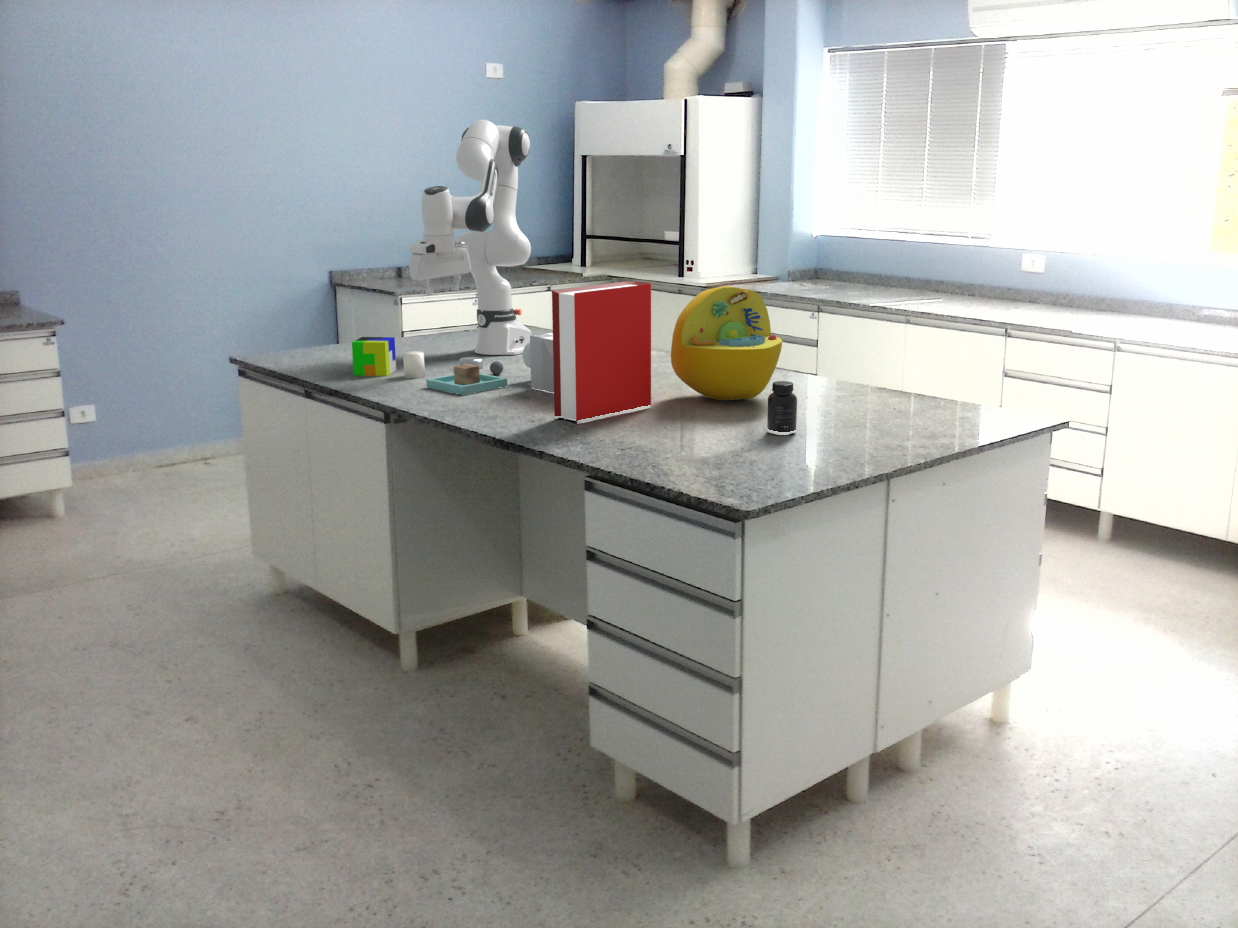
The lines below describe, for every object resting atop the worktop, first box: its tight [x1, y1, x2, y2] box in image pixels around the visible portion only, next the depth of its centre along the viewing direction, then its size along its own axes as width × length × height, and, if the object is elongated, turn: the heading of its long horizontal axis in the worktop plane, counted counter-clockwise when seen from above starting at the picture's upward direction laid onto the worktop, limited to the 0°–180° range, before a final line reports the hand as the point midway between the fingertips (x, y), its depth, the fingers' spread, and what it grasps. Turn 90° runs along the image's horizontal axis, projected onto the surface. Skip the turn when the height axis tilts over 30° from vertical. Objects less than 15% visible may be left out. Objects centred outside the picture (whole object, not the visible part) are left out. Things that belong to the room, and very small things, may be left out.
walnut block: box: [453, 364, 480, 386], centre depth 329 cm, size 5×5×5 cm
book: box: [551, 280, 652, 421], centre depth 293 cm, size 27×8×32 cm, turn 134°
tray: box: [425, 372, 508, 396], centre depth 330 cm, size 16×16×2 cm
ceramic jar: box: [402, 350, 426, 379], centre depth 345 cm, size 6×6×7 cm
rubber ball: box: [489, 360, 504, 376], centre depth 347 cm, size 4×4×4 cm
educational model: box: [670, 285, 783, 401], centre depth 308 cm, size 29×30×30 cm
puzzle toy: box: [351, 336, 397, 377], centre depth 351 cm, size 10×10×10 cm
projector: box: [522, 332, 554, 392], centre depth 326 cm, size 35×19×15 cm, turn 42°
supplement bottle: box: [766, 380, 798, 432], centre depth 275 cm, size 7×7×12 cm
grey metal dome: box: [459, 356, 484, 370], centre depth 358 cm, size 7×7×3 cm
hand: (442, 292), depth 343 cm, fingers open, 8 cm apart
